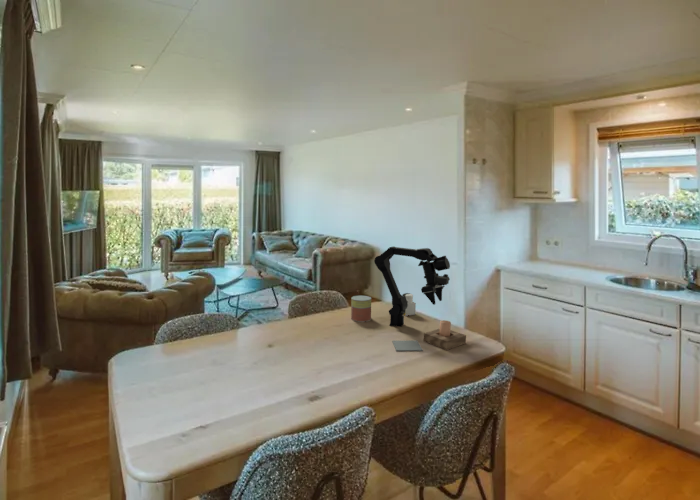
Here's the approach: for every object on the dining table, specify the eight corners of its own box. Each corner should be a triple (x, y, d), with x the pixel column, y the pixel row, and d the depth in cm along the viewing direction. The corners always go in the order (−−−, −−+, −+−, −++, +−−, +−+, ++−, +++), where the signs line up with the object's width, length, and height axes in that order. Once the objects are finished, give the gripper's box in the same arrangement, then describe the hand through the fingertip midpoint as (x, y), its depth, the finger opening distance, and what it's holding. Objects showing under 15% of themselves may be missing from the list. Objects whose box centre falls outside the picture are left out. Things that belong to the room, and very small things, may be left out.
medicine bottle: (398, 312, 250) (399, 293, 248) (408, 311, 253) (409, 291, 251) (405, 316, 243) (405, 295, 242) (415, 314, 246) (416, 294, 245)
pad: (392, 341, 202) (392, 340, 202) (417, 341, 202) (417, 340, 202) (396, 351, 190) (396, 350, 190) (422, 351, 190) (422, 349, 190)
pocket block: (423, 341, 203) (423, 333, 202) (442, 335, 212) (443, 327, 211) (446, 349, 192) (446, 341, 192) (465, 343, 201) (466, 335, 200)
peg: (438, 343, 200) (439, 323, 199) (439, 339, 205) (440, 320, 204) (449, 344, 199) (450, 324, 197) (450, 341, 203) (451, 321, 202)
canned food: (374, 317, 239) (375, 297, 238) (364, 323, 230) (365, 301, 228) (357, 314, 245) (357, 294, 244) (347, 319, 236) (347, 298, 234)
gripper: (438, 272, 202) (446, 304, 202) (451, 267, 218) (458, 296, 218) (417, 276, 208) (425, 307, 208) (431, 271, 224) (438, 299, 224)
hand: (437, 302), depth 214 cm, fingers open, 9 cm apart
